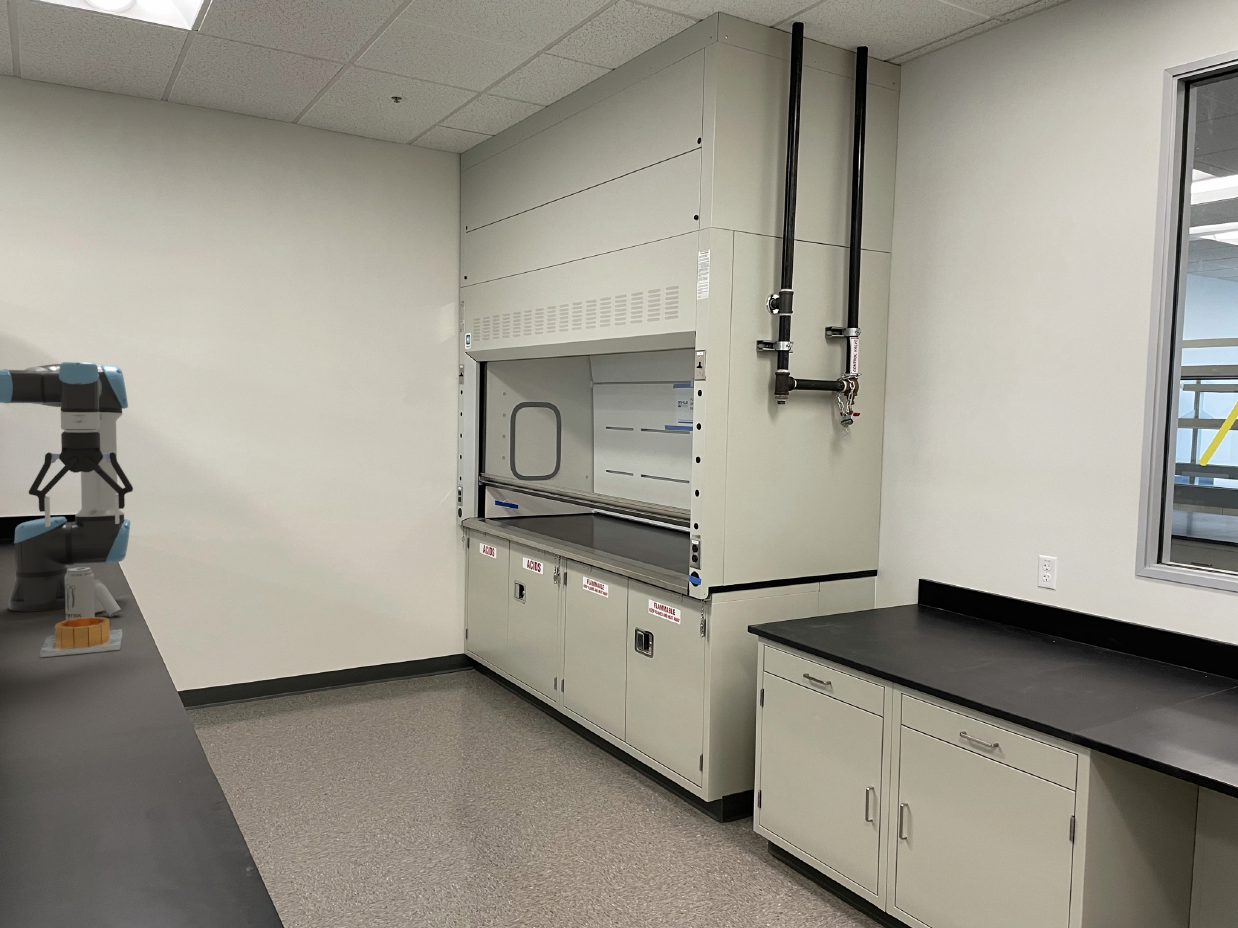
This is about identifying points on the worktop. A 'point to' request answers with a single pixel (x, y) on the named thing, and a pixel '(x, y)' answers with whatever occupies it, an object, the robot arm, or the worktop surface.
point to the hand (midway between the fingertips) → (83, 524)
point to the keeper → (82, 637)
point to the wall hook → (104, 599)
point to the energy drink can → (79, 593)
